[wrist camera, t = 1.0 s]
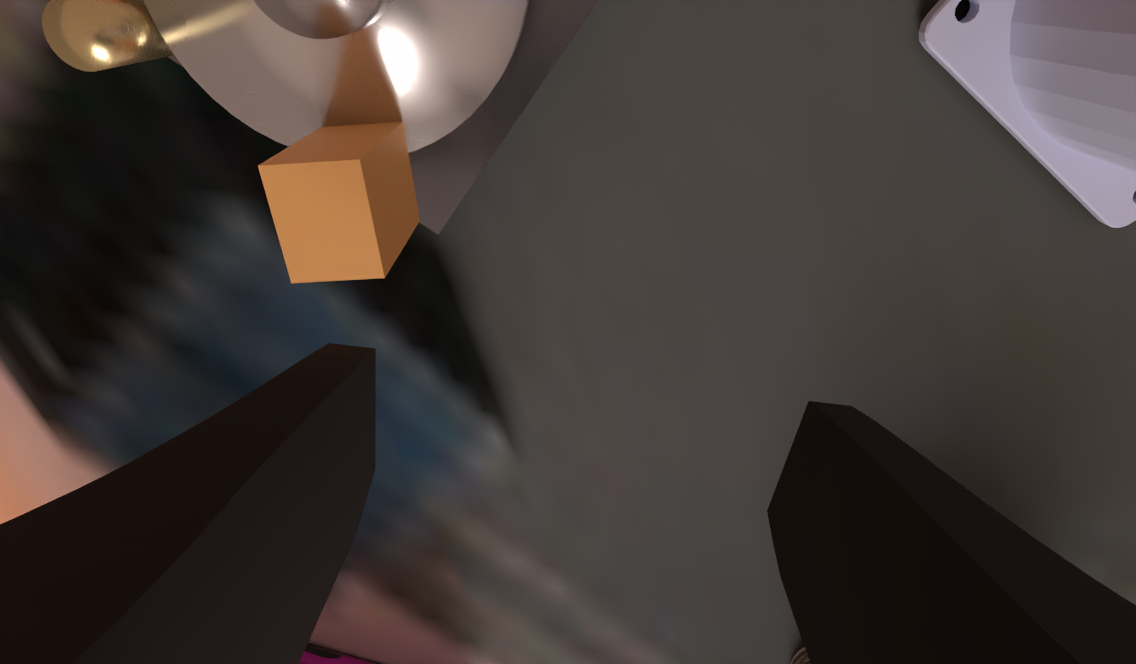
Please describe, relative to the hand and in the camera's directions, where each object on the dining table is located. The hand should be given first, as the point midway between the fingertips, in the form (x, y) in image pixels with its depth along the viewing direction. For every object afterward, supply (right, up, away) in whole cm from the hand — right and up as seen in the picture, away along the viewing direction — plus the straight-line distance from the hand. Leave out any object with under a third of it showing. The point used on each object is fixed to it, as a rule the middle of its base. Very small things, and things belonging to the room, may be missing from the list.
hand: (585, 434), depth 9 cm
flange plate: (-4, +8, +4) cm, 10 cm away
